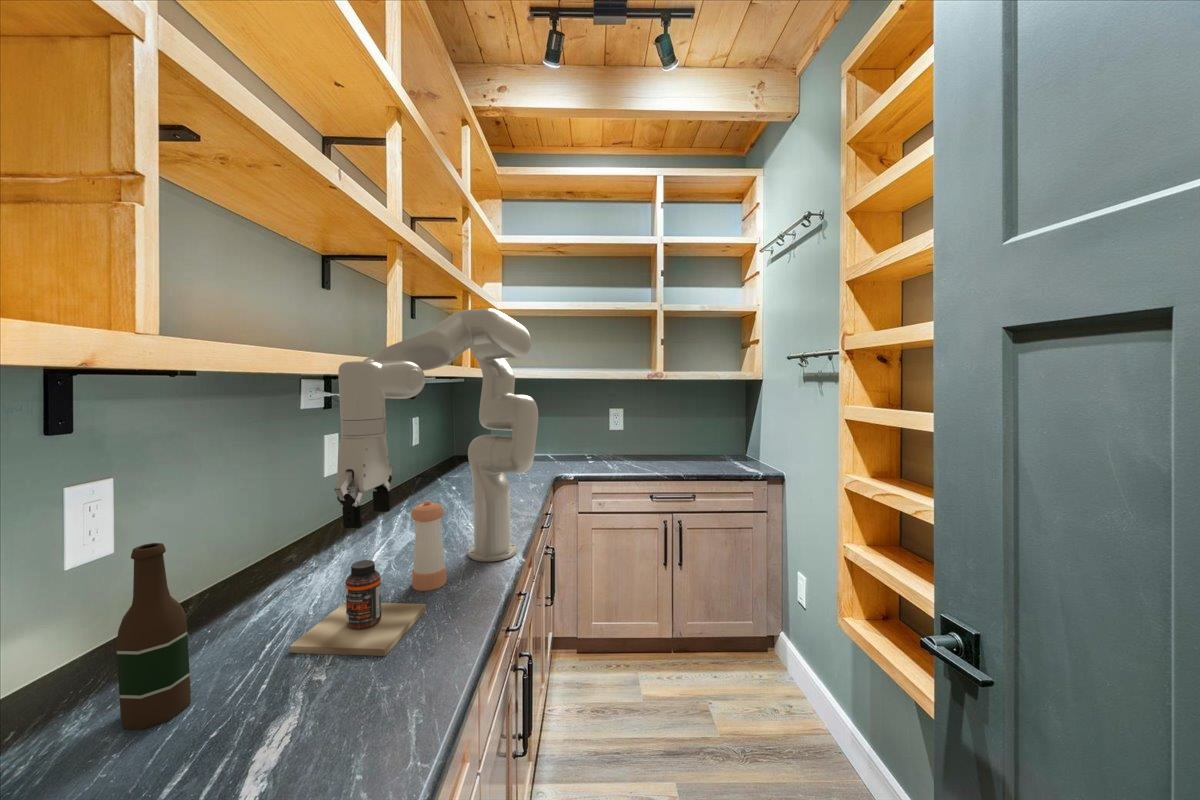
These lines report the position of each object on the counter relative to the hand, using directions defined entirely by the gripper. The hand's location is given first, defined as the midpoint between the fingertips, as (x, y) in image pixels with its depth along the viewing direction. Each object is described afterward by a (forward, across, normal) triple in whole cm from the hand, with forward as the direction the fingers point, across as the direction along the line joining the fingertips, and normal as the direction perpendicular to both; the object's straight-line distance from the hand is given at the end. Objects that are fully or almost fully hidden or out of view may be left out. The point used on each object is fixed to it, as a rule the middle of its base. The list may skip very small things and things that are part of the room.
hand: (368, 518), depth 90 cm
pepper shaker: (+21, -18, +3) cm, 28 cm away
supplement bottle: (+20, +1, -1) cm, 20 cm away
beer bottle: (+20, +25, -18) cm, 37 cm away
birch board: (+21, +2, -1) cm, 21 cm away
